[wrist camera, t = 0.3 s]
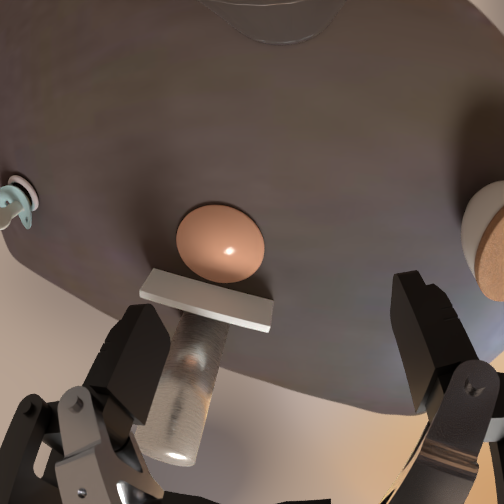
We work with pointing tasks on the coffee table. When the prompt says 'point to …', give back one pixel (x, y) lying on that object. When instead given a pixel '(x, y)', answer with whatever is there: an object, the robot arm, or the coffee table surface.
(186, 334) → the metal tin
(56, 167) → the coffee table surface
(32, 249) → the coffee table surface
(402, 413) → the coffee table surface
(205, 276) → the terracotta coaster
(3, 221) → the pacifier
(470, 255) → the lidded jar
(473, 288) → the coffee table surface
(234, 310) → the acrylic wall
